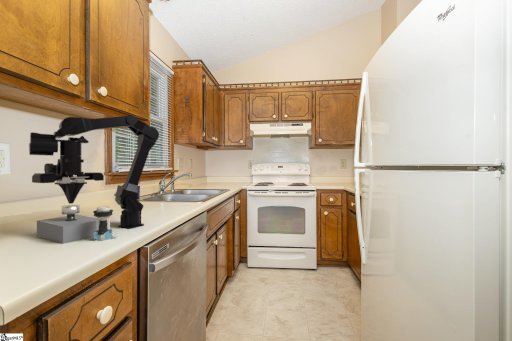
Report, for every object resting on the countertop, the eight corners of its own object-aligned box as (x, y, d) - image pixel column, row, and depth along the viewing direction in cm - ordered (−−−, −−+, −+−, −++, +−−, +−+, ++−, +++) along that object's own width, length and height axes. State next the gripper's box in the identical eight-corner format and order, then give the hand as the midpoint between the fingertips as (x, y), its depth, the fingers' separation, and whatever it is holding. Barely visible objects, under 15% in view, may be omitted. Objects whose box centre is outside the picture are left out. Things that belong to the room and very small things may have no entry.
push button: (118, 235, 84) (118, 205, 84) (116, 240, 79) (116, 208, 79) (94, 237, 81) (94, 206, 81) (91, 242, 76) (91, 209, 76)
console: (76, 228, 93) (76, 214, 93) (103, 234, 85) (103, 219, 85) (36, 235, 82) (36, 220, 82) (63, 243, 75) (63, 226, 75)
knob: (74, 226, 87) (74, 204, 87) (82, 227, 85) (82, 205, 85) (58, 229, 83) (58, 206, 83) (66, 231, 80) (66, 207, 80)
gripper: (86, 157, 95) (86, 198, 96) (23, 155, 79) (23, 205, 79) (104, 157, 90) (104, 200, 90) (41, 154, 74) (41, 208, 74)
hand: (70, 203), depth 84 cm, fingers closed
